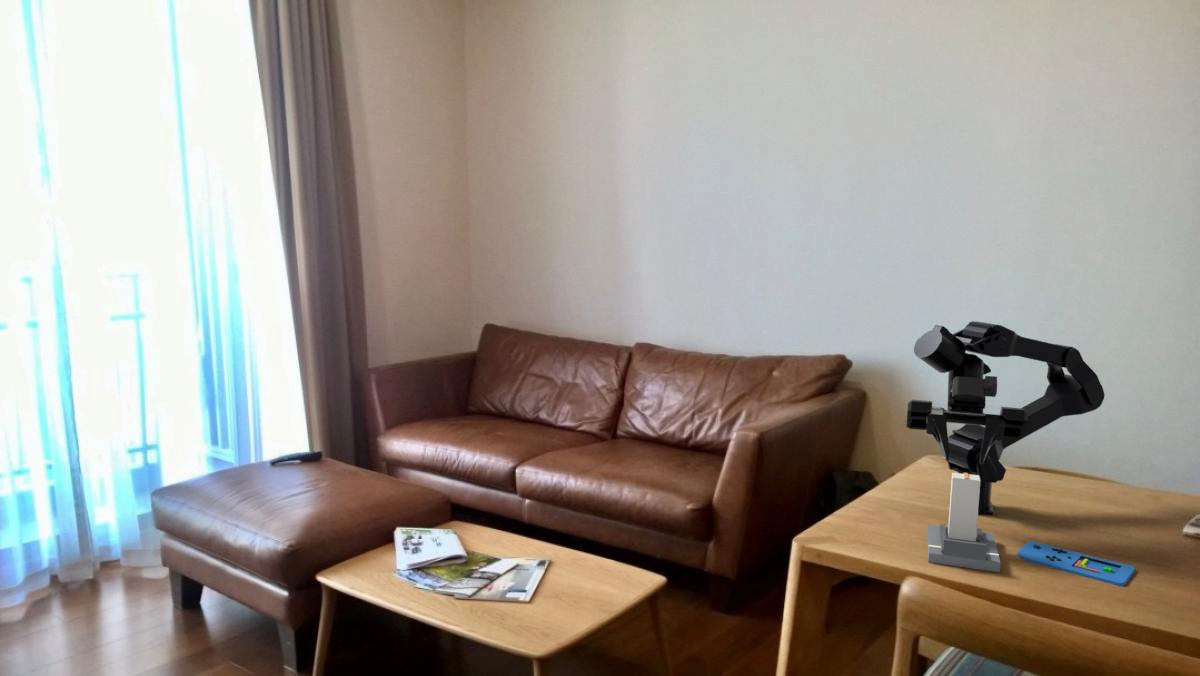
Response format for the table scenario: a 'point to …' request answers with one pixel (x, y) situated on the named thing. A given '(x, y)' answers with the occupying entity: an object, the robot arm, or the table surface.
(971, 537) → the grey upright block
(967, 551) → the grey socket base
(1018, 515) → the table surface
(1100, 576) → the handheld gaming device
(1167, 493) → the table surface
